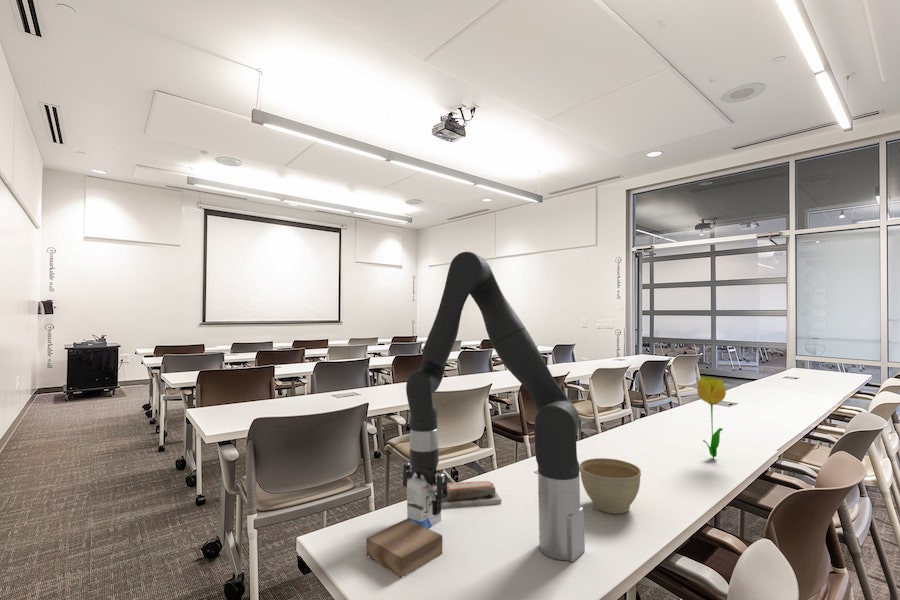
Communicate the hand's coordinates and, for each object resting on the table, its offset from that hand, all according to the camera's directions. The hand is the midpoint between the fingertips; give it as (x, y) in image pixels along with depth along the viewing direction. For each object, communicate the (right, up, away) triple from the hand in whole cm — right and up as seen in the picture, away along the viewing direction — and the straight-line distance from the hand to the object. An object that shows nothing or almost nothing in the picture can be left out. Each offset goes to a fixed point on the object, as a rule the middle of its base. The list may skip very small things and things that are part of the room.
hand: (424, 509), depth 109 cm
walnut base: (-4, -3, -14) cm, 15 cm away
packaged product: (+12, -5, +14) cm, 19 cm away
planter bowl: (+51, -4, +8) cm, 52 cm away
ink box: (0, -4, 0) cm, 4 cm away
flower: (+104, -5, +47) cm, 114 cm away
